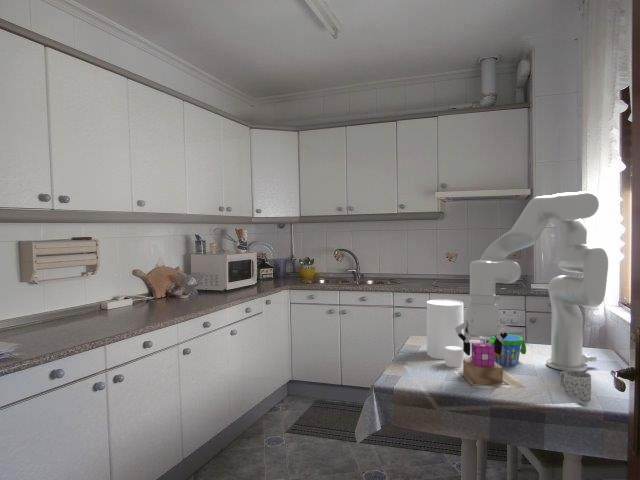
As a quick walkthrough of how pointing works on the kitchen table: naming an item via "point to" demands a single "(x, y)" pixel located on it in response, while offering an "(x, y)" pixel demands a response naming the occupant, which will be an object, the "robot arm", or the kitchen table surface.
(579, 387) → the mug
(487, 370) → the walnut base block
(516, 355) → the snack cup
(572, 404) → the kitchen table surface
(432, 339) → the canister
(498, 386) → the board
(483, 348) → the puzzle toy
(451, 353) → the shot glass
